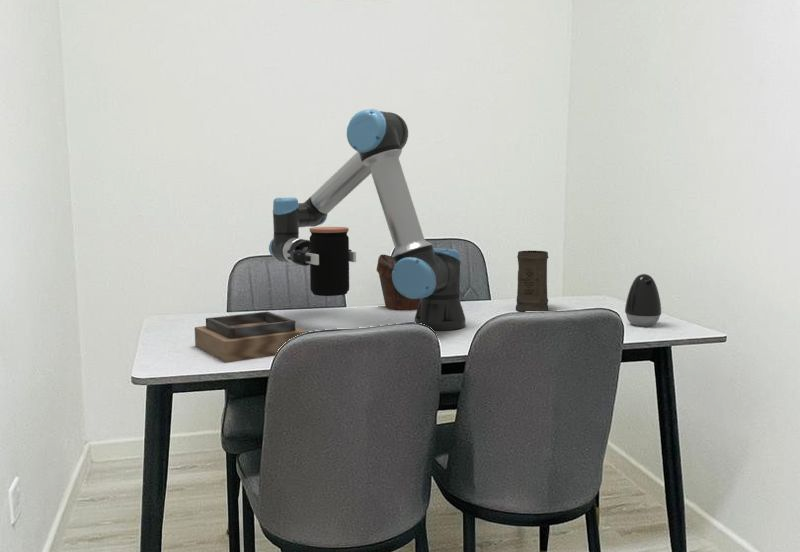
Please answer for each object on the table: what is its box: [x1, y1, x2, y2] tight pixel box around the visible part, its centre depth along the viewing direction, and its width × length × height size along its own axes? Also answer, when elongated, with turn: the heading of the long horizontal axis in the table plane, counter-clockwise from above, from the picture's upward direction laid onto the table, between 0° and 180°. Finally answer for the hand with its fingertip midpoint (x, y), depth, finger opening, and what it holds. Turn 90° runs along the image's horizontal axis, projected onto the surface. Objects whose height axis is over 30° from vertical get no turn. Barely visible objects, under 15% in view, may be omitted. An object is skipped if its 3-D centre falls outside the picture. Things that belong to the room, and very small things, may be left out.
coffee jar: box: [309, 226, 350, 297], centre depth 207 cm, size 11×11×18 cm
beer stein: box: [515, 250, 549, 313], centre depth 251 cm, size 15×11×20 cm
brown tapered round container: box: [376, 254, 420, 311], centre depth 257 cm, size 18×20×18 cm
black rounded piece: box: [624, 273, 662, 328], centre depth 223 cm, size 10×10×15 cm
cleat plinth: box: [194, 311, 309, 363], centre depth 196 cm, size 22×22×8 cm
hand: (336, 258), depth 204 cm, fingers closed on coffee jar, 11 cm apart
